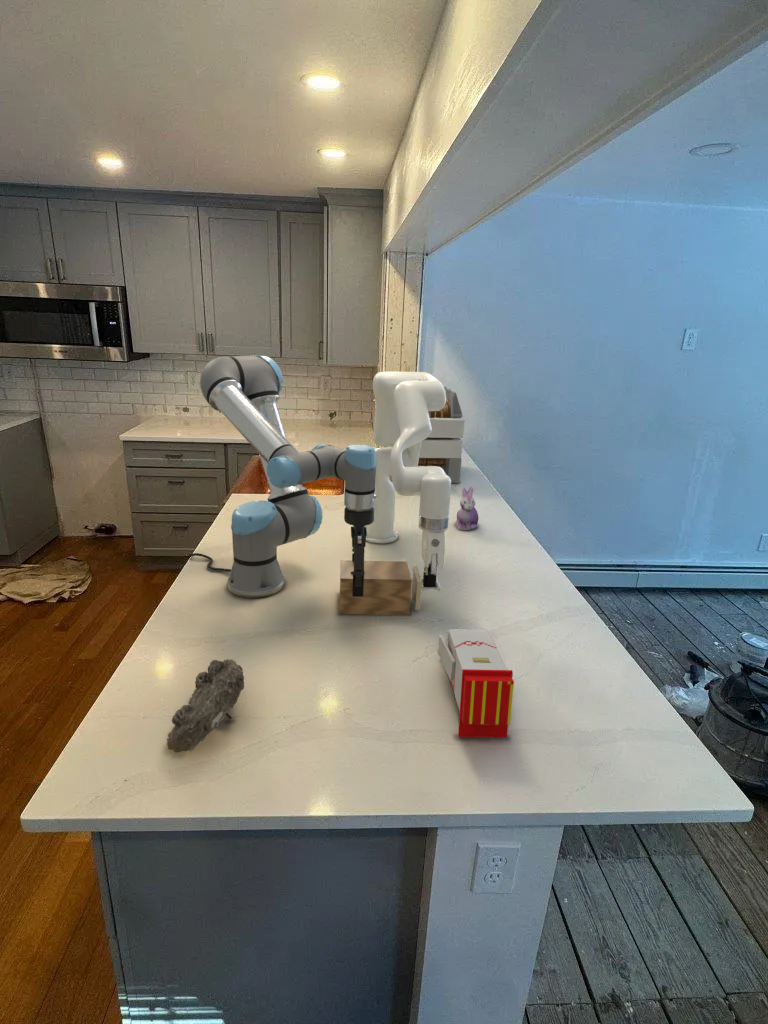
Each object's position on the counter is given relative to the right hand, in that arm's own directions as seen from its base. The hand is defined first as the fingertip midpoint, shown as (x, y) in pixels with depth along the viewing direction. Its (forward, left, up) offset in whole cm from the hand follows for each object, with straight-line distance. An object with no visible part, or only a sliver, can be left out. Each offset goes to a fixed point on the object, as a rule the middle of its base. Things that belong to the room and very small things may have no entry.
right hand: (429, 586), depth 150 cm
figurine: (+1, +63, -6) cm, 64 cm away
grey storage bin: (-32, +126, -6) cm, 131 cm away
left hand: (-18, -6, 0) cm, 19 cm away
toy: (+16, -33, -6) cm, 37 cm away
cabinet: (-14, -4, -6) cm, 16 cm away
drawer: (-8, -2, -5) cm, 10 cm away
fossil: (-29, -57, -6) cm, 64 cm away
